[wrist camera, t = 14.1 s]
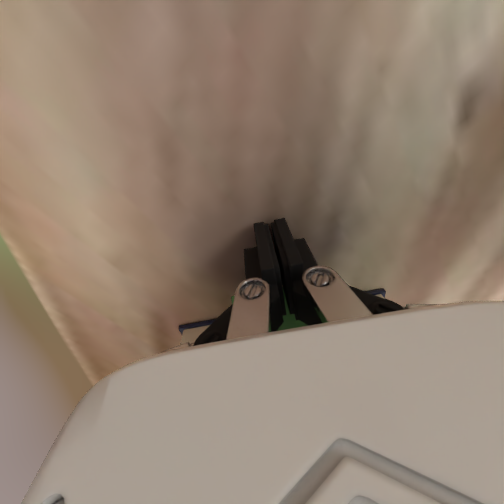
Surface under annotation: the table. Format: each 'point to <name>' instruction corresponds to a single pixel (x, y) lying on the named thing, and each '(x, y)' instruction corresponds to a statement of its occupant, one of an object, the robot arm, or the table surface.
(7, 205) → the table surface
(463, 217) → the table surface
